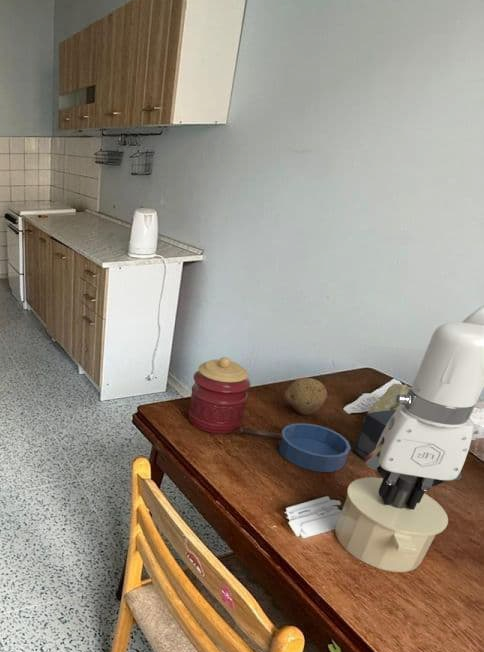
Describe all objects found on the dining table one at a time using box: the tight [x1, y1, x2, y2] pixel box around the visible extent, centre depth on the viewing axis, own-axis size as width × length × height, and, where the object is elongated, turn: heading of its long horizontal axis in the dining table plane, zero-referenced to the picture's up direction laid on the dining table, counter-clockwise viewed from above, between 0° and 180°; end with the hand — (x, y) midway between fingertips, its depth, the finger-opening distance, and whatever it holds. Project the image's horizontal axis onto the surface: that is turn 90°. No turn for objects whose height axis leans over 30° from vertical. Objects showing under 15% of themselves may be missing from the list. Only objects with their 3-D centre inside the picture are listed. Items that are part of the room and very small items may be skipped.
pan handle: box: [237, 426, 282, 441], centre depth 109 cm, size 10×2×2 cm, turn 70°
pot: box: [334, 476, 436, 573], centre depth 81 cm, size 13×18×8 cm
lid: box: [346, 474, 449, 536], centre depth 78 cm, size 14×14×7 cm
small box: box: [352, 409, 397, 460], centre depth 103 cm, size 11×6×10 cm, turn 100°
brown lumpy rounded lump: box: [284, 377, 328, 416], centre depth 120 cm, size 9×9×10 cm
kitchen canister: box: [187, 356, 251, 435], centre depth 116 cm, size 13×13×18 cm
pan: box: [277, 422, 352, 473], centre depth 106 cm, size 13×13×4 cm
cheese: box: [363, 382, 412, 421], centre depth 115 cm, size 15×7×15 cm
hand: (396, 501), depth 78 cm, fingers closed on lid, 2 cm apart
